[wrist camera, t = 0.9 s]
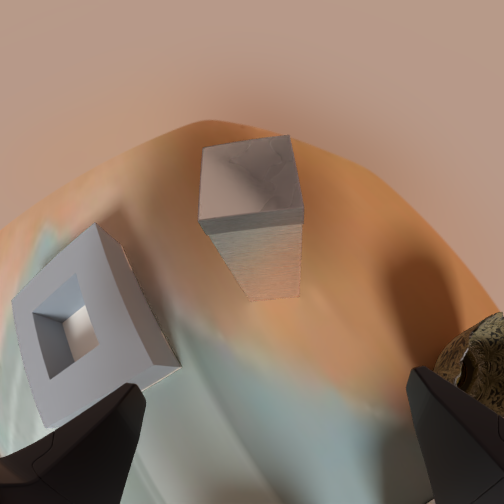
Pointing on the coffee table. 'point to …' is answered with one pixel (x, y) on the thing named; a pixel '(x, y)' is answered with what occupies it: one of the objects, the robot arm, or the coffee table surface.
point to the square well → (87, 329)
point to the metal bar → (254, 213)
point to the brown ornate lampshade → (477, 362)
